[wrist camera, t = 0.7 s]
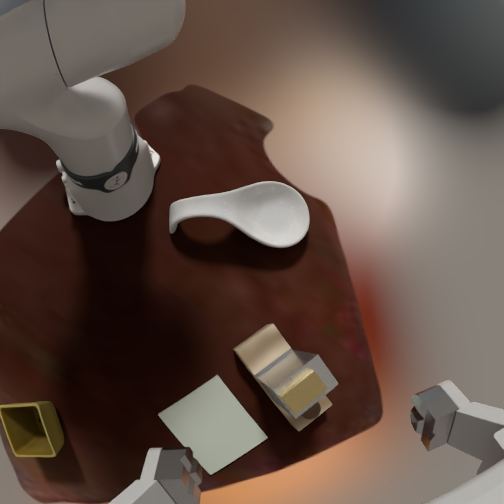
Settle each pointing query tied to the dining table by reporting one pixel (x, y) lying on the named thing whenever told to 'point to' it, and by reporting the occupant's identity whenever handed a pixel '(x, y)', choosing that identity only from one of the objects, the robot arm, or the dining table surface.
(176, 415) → the mat
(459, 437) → the robot arm
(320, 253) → the dining table surface
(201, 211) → the spoon rest
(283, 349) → the block plane
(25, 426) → the flower pot
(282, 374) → the grey tall block
